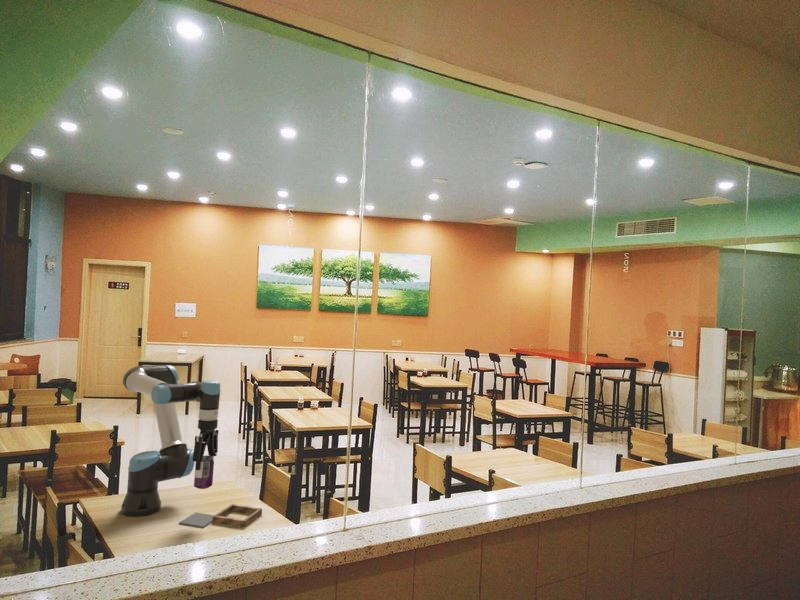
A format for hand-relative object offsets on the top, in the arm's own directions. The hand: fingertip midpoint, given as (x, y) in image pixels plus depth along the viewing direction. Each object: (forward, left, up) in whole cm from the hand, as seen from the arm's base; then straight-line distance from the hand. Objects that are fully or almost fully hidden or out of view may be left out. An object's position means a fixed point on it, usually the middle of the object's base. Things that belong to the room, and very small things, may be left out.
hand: (203, 474), depth 210 cm
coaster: (0, -1, -19) cm, 19 cm away
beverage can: (0, 0, -5) cm, 5 cm away
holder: (+13, +7, -19) cm, 24 cm away
